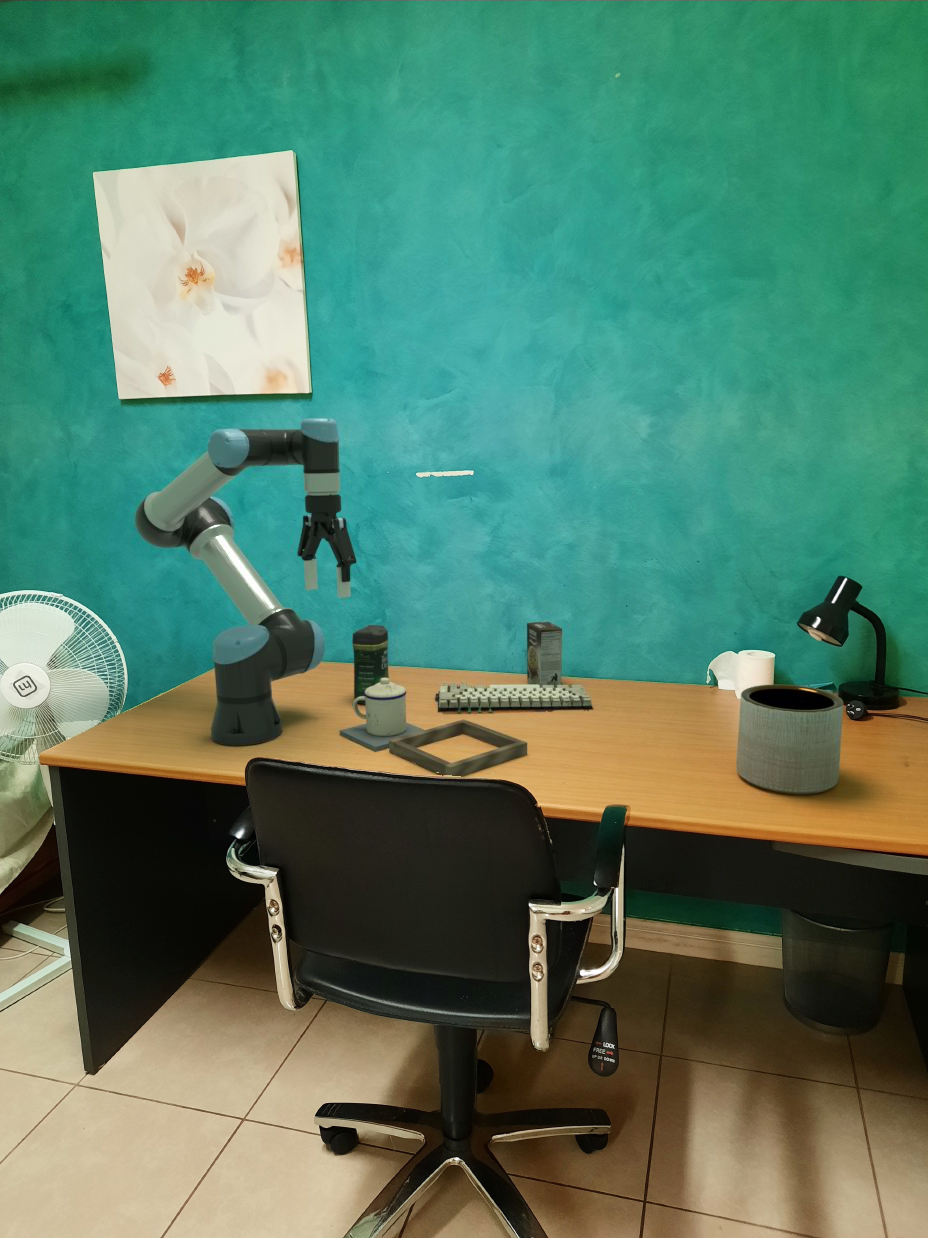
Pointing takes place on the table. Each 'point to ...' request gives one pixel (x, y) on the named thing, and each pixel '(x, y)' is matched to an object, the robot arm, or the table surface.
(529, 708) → the mechanical keyboard
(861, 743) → the table surface
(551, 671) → the coffee box
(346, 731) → the mat
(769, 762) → the planter
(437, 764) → the frame
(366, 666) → the coffee jar
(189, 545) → the robot arm
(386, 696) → the teacup with lid
